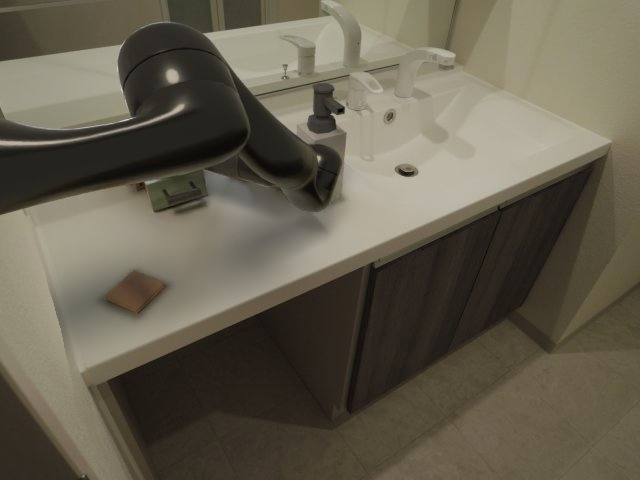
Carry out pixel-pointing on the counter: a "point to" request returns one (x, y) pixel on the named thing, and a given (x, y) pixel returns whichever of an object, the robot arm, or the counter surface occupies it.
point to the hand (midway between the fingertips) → (146, 129)
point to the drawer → (175, 189)
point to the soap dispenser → (325, 127)
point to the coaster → (135, 291)
